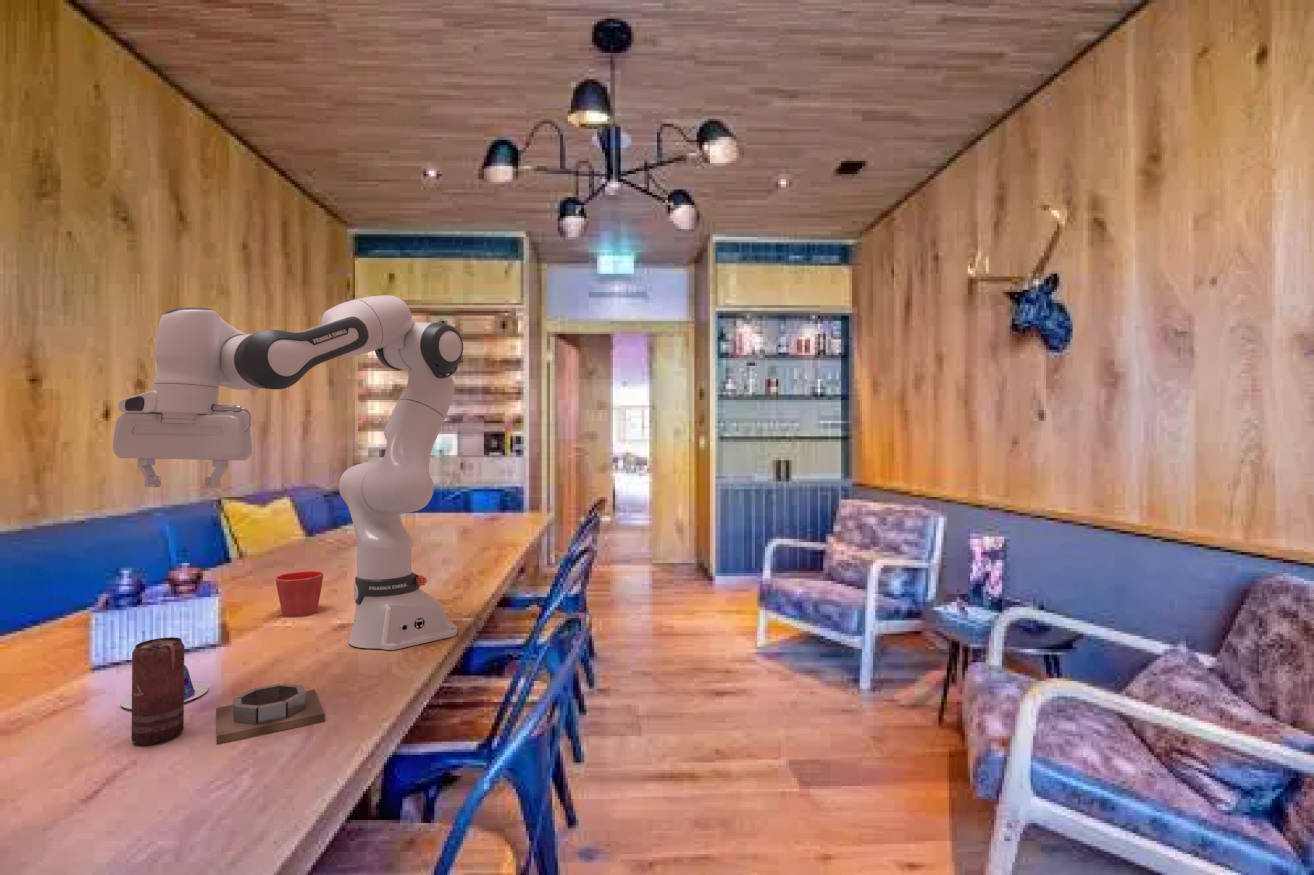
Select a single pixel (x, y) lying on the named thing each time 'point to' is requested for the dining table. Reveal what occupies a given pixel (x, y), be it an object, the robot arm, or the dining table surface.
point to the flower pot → (299, 592)
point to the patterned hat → (188, 690)
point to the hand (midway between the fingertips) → (182, 487)
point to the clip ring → (253, 714)
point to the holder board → (236, 731)
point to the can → (157, 691)
